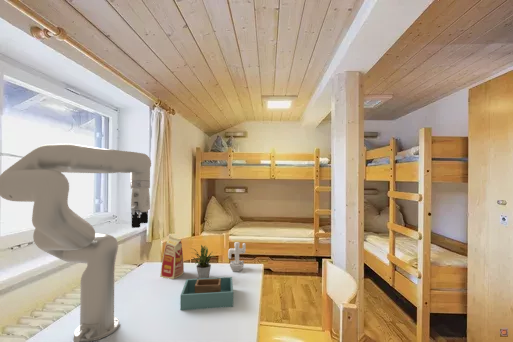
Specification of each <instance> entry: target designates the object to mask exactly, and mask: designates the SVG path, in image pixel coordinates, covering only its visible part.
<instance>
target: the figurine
mask: <svg viewBox="0 0 513 342" xmlns="http://www.w3.org/2000/svg"><path fill="white" fill-rule="evenodd" d="M246 251H247V250H246V243H245V242H243V243H242V248H241V247H240V242H239V241H236V242H234V248H232V247H231V248H229V249H228V251H227V254H228V257H227V258H228V259H229V260H230V259H232V254H234V260H230V264H229V266H230V269H231V271H232V272H242V269H243V267H244V265H245V264H244V260H240V254H242V255H243V254H246Z"/></svg>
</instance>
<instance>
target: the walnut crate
mask: <svg viewBox="0 0 513 342" xmlns="http://www.w3.org/2000/svg"><path fill="white" fill-rule="evenodd" d="M196 279H197V282H196V284H195V293H212V292H221V279H198V278H196Z"/></svg>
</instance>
